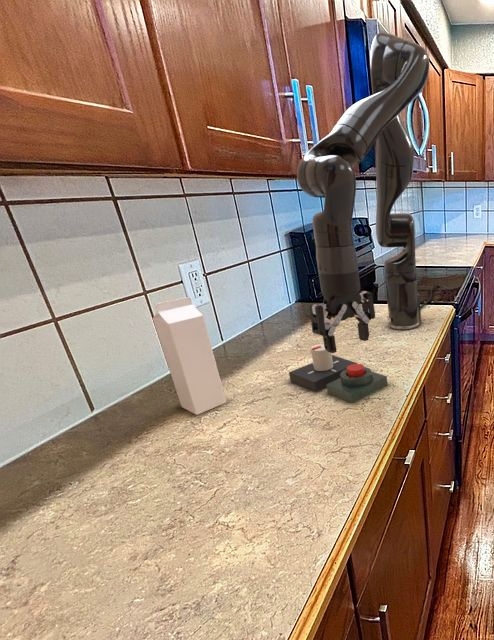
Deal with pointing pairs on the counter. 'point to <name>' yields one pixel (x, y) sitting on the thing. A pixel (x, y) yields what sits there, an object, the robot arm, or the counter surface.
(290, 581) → the counter surface
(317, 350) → the power knob
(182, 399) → the milk
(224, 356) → the counter surface
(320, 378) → the control panel
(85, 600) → the counter surface
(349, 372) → the button
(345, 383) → the switch block
